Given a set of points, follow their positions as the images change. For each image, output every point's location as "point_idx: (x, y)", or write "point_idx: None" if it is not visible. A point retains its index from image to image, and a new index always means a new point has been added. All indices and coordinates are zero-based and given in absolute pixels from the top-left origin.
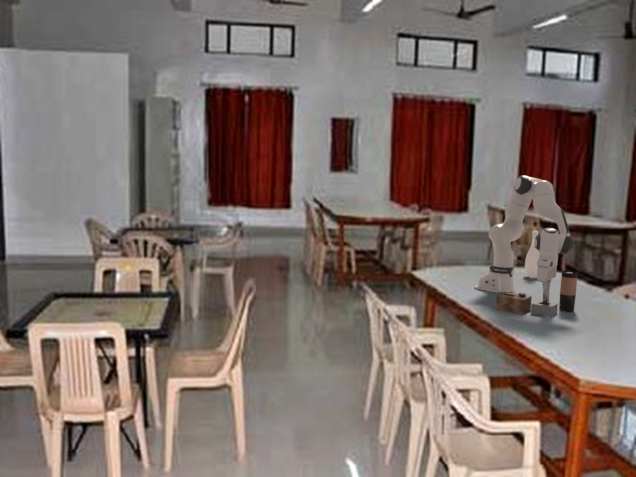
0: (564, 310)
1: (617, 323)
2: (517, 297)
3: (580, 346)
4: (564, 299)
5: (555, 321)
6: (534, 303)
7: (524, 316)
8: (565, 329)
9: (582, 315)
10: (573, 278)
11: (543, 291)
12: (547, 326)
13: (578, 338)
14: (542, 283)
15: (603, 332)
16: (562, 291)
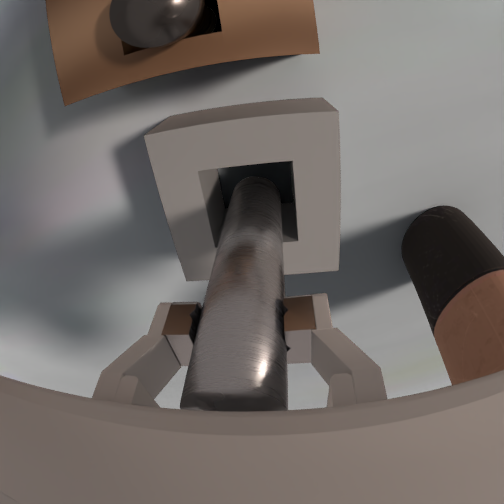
0: (403, 247)
1: (311, 404)
2: (102, 4)
3: (19, 370)
4: (426, 291)
5: (131, 286)
6: (174, 147)
7: (70, 137)
8: (75, 335)
9: (365, 322)
10: None
11: (216, 267)
12: (43, 288)
13: (49, 366)
14: (115, 361)
15: (159, 399)
16: (460, 316)
